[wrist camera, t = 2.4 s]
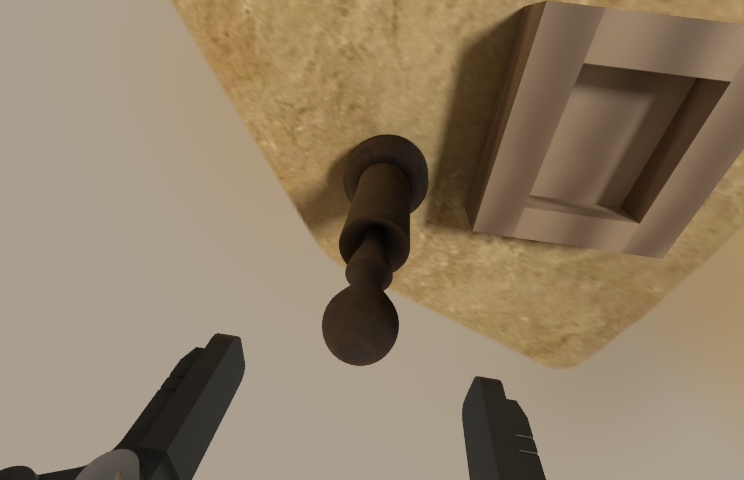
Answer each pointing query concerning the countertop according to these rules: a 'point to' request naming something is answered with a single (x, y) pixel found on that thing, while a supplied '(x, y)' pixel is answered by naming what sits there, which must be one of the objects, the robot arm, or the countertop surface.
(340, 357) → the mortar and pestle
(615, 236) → the brown flat square frame
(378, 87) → the countertop surface
